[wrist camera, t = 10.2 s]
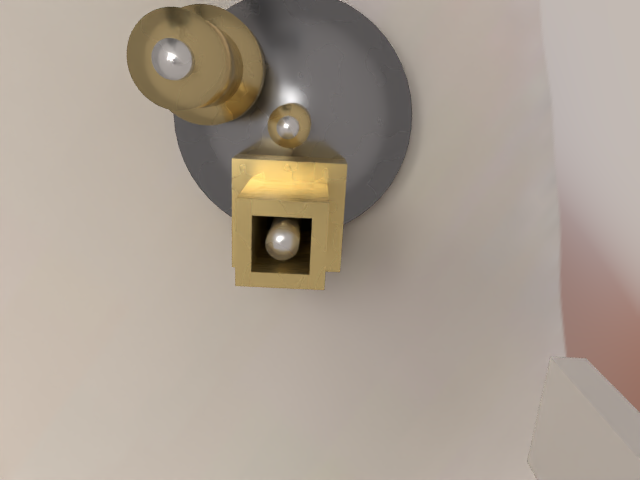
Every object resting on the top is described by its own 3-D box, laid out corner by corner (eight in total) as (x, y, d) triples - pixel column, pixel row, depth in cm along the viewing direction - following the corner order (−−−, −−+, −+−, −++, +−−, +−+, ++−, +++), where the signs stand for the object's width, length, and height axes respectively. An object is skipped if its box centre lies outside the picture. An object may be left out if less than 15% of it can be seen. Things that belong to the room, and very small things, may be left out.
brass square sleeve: (237, 153, 27) (211, 173, 20) (345, 159, 27) (354, 181, 20) (237, 255, 28) (213, 305, 22) (338, 260, 29) (344, 311, 22)
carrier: (165, -13, 26) (87, -66, 17) (418, 2, 26) (470, -43, 17) (174, 222, 29) (114, 277, 21) (395, 233, 30) (427, 291, 21)
